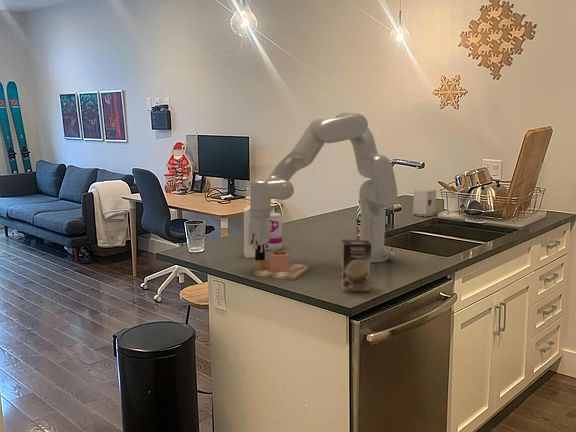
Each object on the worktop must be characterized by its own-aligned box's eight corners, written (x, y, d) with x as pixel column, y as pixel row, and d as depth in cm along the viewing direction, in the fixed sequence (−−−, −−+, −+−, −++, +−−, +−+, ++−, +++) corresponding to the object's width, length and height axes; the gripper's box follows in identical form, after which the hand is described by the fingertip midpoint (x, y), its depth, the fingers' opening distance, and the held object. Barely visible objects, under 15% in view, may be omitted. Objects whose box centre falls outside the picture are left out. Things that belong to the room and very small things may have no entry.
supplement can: (279, 251, 241) (280, 216, 238) (260, 250, 242) (260, 215, 240) (284, 246, 249) (284, 212, 246) (265, 245, 250) (265, 211, 247)
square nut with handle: (289, 266, 214) (289, 250, 213) (289, 271, 207) (289, 255, 206) (255, 266, 214) (255, 250, 213) (254, 271, 207) (254, 255, 206)
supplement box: (425, 218, 315) (427, 190, 312) (412, 215, 321) (413, 189, 319) (435, 216, 321) (436, 189, 318) (421, 213, 327) (423, 187, 325)
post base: (309, 268, 215) (309, 255, 214) (294, 280, 201) (294, 266, 200) (270, 264, 221) (270, 251, 220) (252, 275, 207) (252, 261, 206)
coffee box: (342, 292, 189) (343, 244, 186) (339, 286, 195) (340, 239, 192) (370, 291, 189) (371, 244, 186) (366, 285, 195) (368, 239, 192)
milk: (258, 253, 237) (258, 200, 233) (260, 257, 231) (260, 203, 227) (243, 254, 236) (243, 201, 232) (245, 257, 230) (245, 203, 226)
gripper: (259, 209, 218) (259, 256, 221) (242, 215, 204) (241, 265, 207) (277, 211, 215) (277, 258, 218) (261, 217, 201) (260, 268, 205)
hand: (259, 262), depth 213 cm, fingers closed
